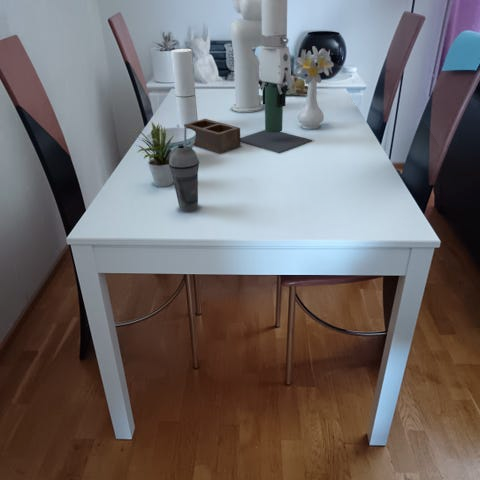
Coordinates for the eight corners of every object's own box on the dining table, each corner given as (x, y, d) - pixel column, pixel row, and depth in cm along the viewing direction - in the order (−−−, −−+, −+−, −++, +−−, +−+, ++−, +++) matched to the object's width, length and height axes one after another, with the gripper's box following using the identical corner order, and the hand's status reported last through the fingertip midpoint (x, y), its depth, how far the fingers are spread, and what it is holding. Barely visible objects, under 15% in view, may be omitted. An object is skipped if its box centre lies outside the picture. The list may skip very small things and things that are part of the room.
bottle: (273, 126, 167) (273, 69, 156) (285, 129, 163) (287, 71, 153) (261, 130, 163) (261, 72, 153) (274, 133, 160) (274, 74, 150)
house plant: (131, 178, 142) (120, 119, 132) (176, 169, 146) (169, 112, 137) (143, 195, 132) (133, 133, 122) (191, 186, 136) (185, 125, 126)
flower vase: (297, 136, 169) (300, 54, 154) (290, 121, 183) (292, 45, 168) (334, 134, 169) (341, 52, 154) (324, 119, 184) (329, 43, 169)
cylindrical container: (199, 122, 186) (193, 48, 171) (196, 128, 180) (189, 51, 165) (181, 123, 187) (173, 48, 172) (177, 128, 181) (169, 52, 166)
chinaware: (207, 158, 154) (205, 133, 149) (171, 171, 145) (168, 145, 141) (176, 149, 162) (173, 124, 158) (140, 161, 154) (136, 136, 149)
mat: (268, 129, 176) (268, 128, 175) (311, 140, 164) (311, 139, 164) (236, 140, 167) (236, 139, 167) (279, 153, 155) (279, 151, 155)
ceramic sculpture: (278, 70, 216) (312, 72, 215) (277, 91, 221) (310, 93, 220) (277, 75, 207) (313, 77, 206) (276, 97, 213) (310, 99, 212)
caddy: (206, 136, 172) (205, 118, 169) (240, 146, 162) (240, 127, 158) (185, 142, 167) (183, 124, 164) (219, 153, 157) (218, 134, 153)
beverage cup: (174, 203, 127) (164, 123, 115) (202, 201, 127) (195, 121, 115) (174, 215, 121) (163, 132, 109) (203, 213, 121) (196, 130, 109)
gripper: (304, 42, 145) (301, 106, 156) (262, 37, 155) (262, 99, 166) (287, 45, 141) (286, 111, 152) (245, 41, 151) (247, 103, 162)
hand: (273, 104), depth 159 cm, fingers closed on bottle, 5 cm apart
